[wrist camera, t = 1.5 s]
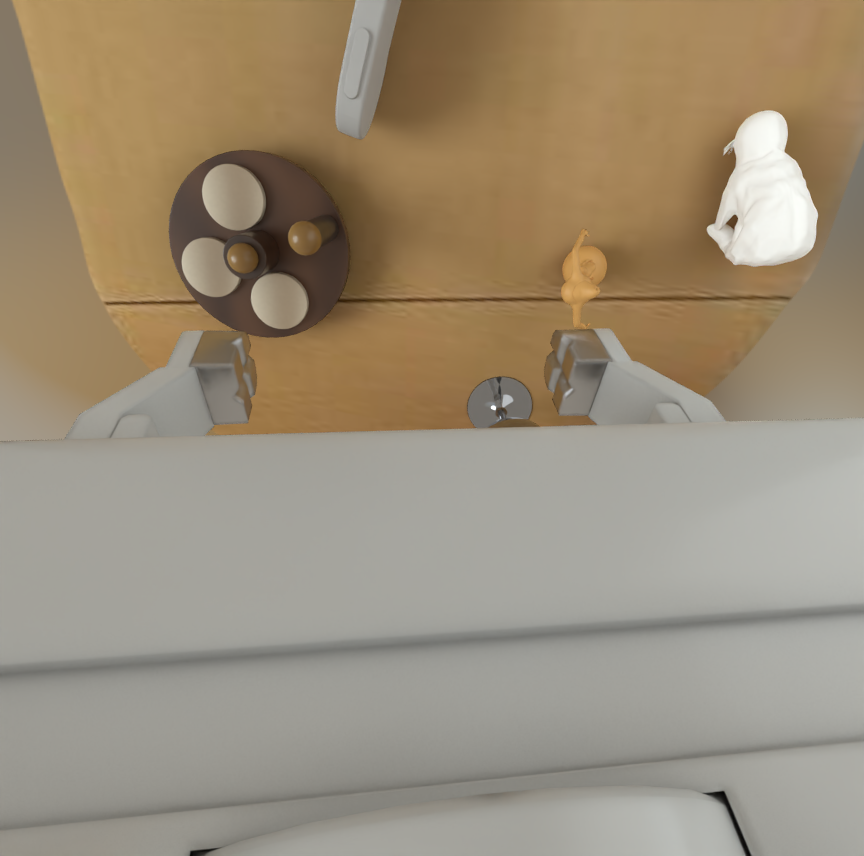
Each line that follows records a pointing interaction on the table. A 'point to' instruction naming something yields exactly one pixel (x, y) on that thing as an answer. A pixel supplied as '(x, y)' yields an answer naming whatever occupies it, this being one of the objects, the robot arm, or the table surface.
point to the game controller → (364, 64)
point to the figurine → (582, 276)
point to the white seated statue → (764, 198)
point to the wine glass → (500, 404)
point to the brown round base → (259, 243)
